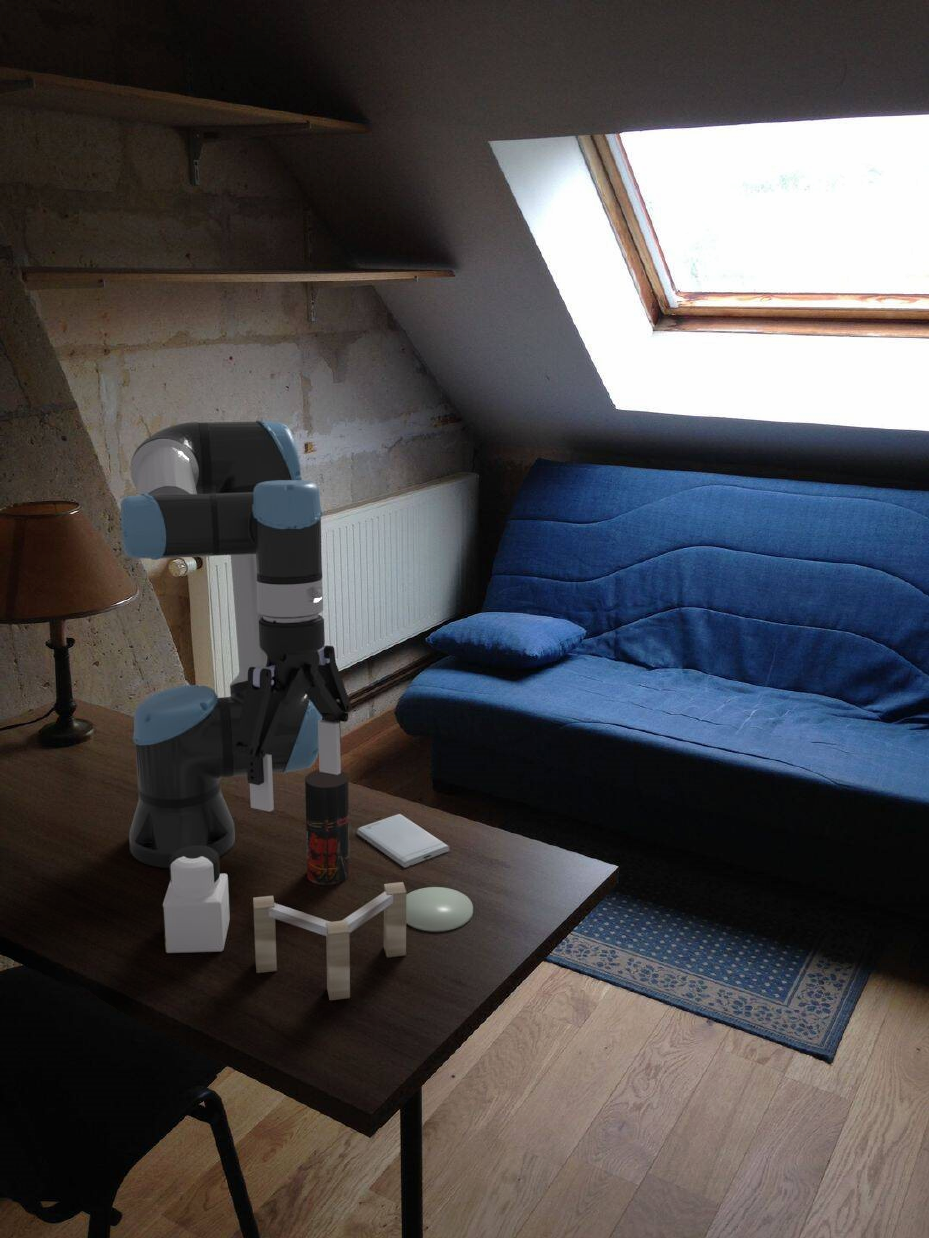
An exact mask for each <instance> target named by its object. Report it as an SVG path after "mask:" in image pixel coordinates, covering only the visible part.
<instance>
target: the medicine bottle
mask: <svg viewBox="0 0 929 1238" xmlns="http://www.w3.org/2000/svg"><path fill="white" fill-rule="evenodd" d="M169 867H170V868H169V879H170V880H169V884H168V887H167V890H166V893H165V897H164V899H163V903H162V914H163V915H162V916H163V931H164V933H163V934H164V946H165V952H166V953H167V954H179V953H180V954H181V953H206V952H207V953H214V952H215V953H216V952H218V953H219V952H220V953H221V952H223V951H224V948H225V944H226V939H227V934H228V930H229V926H230V925H229V924H230V920H231V916H230V894H229V877H228V874H227V873H220V857H219V855H218V853H217V852H216V851H215V850H214V849H212V848H210V847H207V846H189V847H185V848H182V849H180V850H178V851H176V852H175V853H174V854H173V855H172V856H171V858H170V860H169Z"/></svg>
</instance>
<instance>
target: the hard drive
mask: <svg viewBox="0 0 929 1238" xmlns="http://www.w3.org/2000/svg"><path fill="white" fill-rule="evenodd" d="M356 834H357V835H358V836H359V837H361V838H362V839H364V841H366V840H367V841H366V842H368V843H369V844H370V845H372V846H373V847H375V848H376V849H378V850H379V851H381V853H384V855H386V856H388V857H389V858H390V859H391V860H393V861H395V862H396V863H397V864H398V865H400V866H402V867H403V868H408V867H411V866H414V865H415V864H416V865H417V864H419V863H422V862H424V861H427V860H429V859H431V858H435V857H437V856H440V855H442V854H445V853H448V852H450V846H449V845H448V844H446V843H444V842H443V841H442V840H440V839H439V838H437V837H436V836H434V835H433V834H431V833H429V832H428V831H426V830H425V829H423V828H422V827H421V826H419V825H418V824H416V823H414V822H413V821H411V819H409V818H407V817H406V816H404V815H402V814H401V813H398V814H395V815H392V816H389V817H386V818H383V819H380V820H378V821H377V820H376V821H375V822H372V823H368V824H365V825H363V826H360V827H358V828H357V830H356ZM426 859H427V860H426ZM410 865H411V866H410Z"/></svg>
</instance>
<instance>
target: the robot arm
mask: <svg viewBox="0 0 929 1238" xmlns="http://www.w3.org/2000/svg"><path fill="white" fill-rule="evenodd" d="M293 435H294V434H293V433H292V431H291V429H290V428H289V427H288V426H287V425H286V424H284V423H282V422H277V421H276V422H275V421H262V420H255V421H223V422H222V421H220V422H219V421H217V422H213V421H210V422H209V421H208V422H196V421H193V422H191V421H190V422H182V423H179V424H174V425H172V426H169V427H166V428H163V429H162V430H161V429H160V430H159V431H157V432H155V433H153V434H152V435H150V436H149V437H147V438H146V439H144V440H143V441H142V442H141V443H140V445H138V447H137V448H136V450H135V451H134V453H133V455H132V458H131V462H130V478H131V481H132V484H133V485H134V488H135V490H136V491H137V493H138V494H137V495H130V496H129V495H128V496H125V497H124V498H123V499H122V500H121V502H120V522H121V523H120V524H121V538H122V539H121V540H122V548H123V549H122V550H123V552H124V554H125V556H126V557H128V558H131V559H151V560H153V561H155V560H161V559H174V558H176V559H177V558H178V559H179V558H196V557H215V556H217V557H218V556H230V564H231V566H230V567H231V575H232V577H231V579H232V588H233V589H232V591H233V601H234V602H233V604H234V617H235V618H234V619H235V631H236V633H235V634H236V643H237V644H236V645H237V646H236V647H237V656H238V657H237V659H238V660H237V661H238V670H239V671H238V674H237V676H236V677H235V678H234V679H233V680H232V681H231V683H230V684H229V691H230V692H229V693H230V696H225V697H219V696H218V694H217V693H216V691H215V690H214V689H213V688H211V687H209V686H206V685H201V686H199V685H198V684H189V685H180V686H179V685H178V686H175V687H170V688H167V689H164V690H160V691H158V692H156V693H154V694H152V695H151V696H148V697H147V698H145V699H144V700H143V701H141V702H140V703H139V705H138V706H137V708H136V709H135V712H134V714H133V715H134V716H133V717H134V718H133V726H134V727H133V730H134V732H133V734H132V739H133V743H135V755H136V758H135V759H136V773H137V774H136V775H137V787H138V788H137V789H138V801H137V805H136V808H135V812H134V815H133V819H132V822H131V825H130V829H129V835H128V836H129V837H128V838H129V839H128V840H129V851H130V854H131V855H132V856H133V857H134V858H135V859H136V860H137V861H138V862H140V863H142V864H145V865H148V866H151V867H156V868H163V869H164V868H165V869H170V867H169V860H170V858H171V856H172V855H173V854H174V853H175V852H176V851H178V850H180V849H182V848H185V847H189V846H207V847H210V848H212V849H214V850H215V851H216V852H217V853H218V855H219V858H220V857H222V856H223V855H225V854H226V853H228V851H229V850H231V848H232V847H233V845H234V844H235V841H236V833H235V831H236V830H235V829H236V828H235V823H234V820H233V817H232V815H231V812H230V810H229V807H228V805H227V802H226V800H225V798H224V796H223V793H222V790H221V789H222V788H221V779H223V778H231V777H233V778H235V777H242V776H243V777H244V776H247V777H246V778H247V782H248V784H249V797H250V798H249V799H250V808H251V809H255V810H261V811H266V812H272V811H274V810H275V805H274V785H273V784H274V783H273V781H274V780H273V779H274V778H273V774H277V773H282V774H287V773H288V772H293V771H299V770H306V769H310V768H311V767H313V765H314V764H315V763H316V761H317V759H318V767H319V769H318V770H319V771H320V772H325V773H330V774H336V775H338V774H340V773H341V771H342V768H341V765H342V764H341V741H342V739H341V738H342V736H341V722H342V723H343V722H344V723H346V722H348V720H349V713H350V712H351V710H352V705H351V701H350V699H349V696H348V693H347V690H346V688H345V685H344V682H343V678H342V676H341V674H340V670H339V667H338V665H337V661H336V652H335V647H334V646H333V645H326V640H325V639H326V638H325V618H324V617H323V616H322V615H321V613H322V612H323V611H324V594H323V592H324V591H323V564H322V563H323V562H322V561H323V560H322V516H323V508H322V506H321V498H320V497H321V496H320V490H319V489H320V488H319V486H318V485H317V484H316V483H315V482H314V481H309V480H302V473H301V470H302V469H301V462H300V458H299V457H300V456H299V452H298V448H297V443H296V441H295V437H294V436H293ZM323 719H324V720H323Z"/></svg>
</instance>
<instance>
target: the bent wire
mask: <svg viewBox="0 0 929 1238" xmlns="http://www.w3.org/2000/svg"><path fill="white" fill-rule="evenodd" d="M406 895H407V890H406V887H405V884H404V882H403V881H399V882H392V883H391V882H390V883H384V884H383V892H382V893H381V894H379V895H377V896H376V897H374V898H373V899H372V900H370V901H368V902H367V903H366V904H364V905H363V906H361V907H360V908H358V909H357V910H355V911H354V912H352V913H351V914H349V915H348V916H346V917H345V918H344V919H342V920H336V921H329V920H327V919H323V918H321V917H317V916H315V915H313V914H309V913H306V912H303V911H299V910H297V909H293V908H291V907H288V906H285V905H282V904H280V903H279V904H278V903H276V902H275V899H274V895H266V896H257V897H252V899H253V900H252V904H253V925H254V927H253V928H254V949H255V951H254V953H255V956H254V957H255V968H256V974H260V973H269V972H270V973H271V972H277V971H278V969H277V967H278V966H277V939H276V938H277V937H276V936H277V935H276V920H278V921H280V922H283V923H285V924H286V923H287V924H290V925H291V926H296V927H298V928H301V929H305V930H307V931H310V932H312V933H315V934H318V935H322V936H324V937H326V939H325V940H326V941H325V942H326V945H325V947H326V986H327V987H326V989H327V994H328V999H329V1001H336V1000H345V999H351V987H350V986H351V982H350V981H351V979H350V978H351V975H350V974H351V972H350V971H351V967H350V966H351V964H350V963H351V960H350V959H351V958H350V954H351V953H350V947H351V946H350V945H351V944H350V933H352V932H354V931H355V930H356V929H357V928H360V927H361V926H363V924H365V923H367V922H368V921H369V920H370V919H372V918H373V917H375V916H376V915H378V914H379V913H381V912H382V911H383V949H384V952H385V956H386V958H393V957H394V958H395V957H402V956H406V955H407V923H406Z"/></svg>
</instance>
